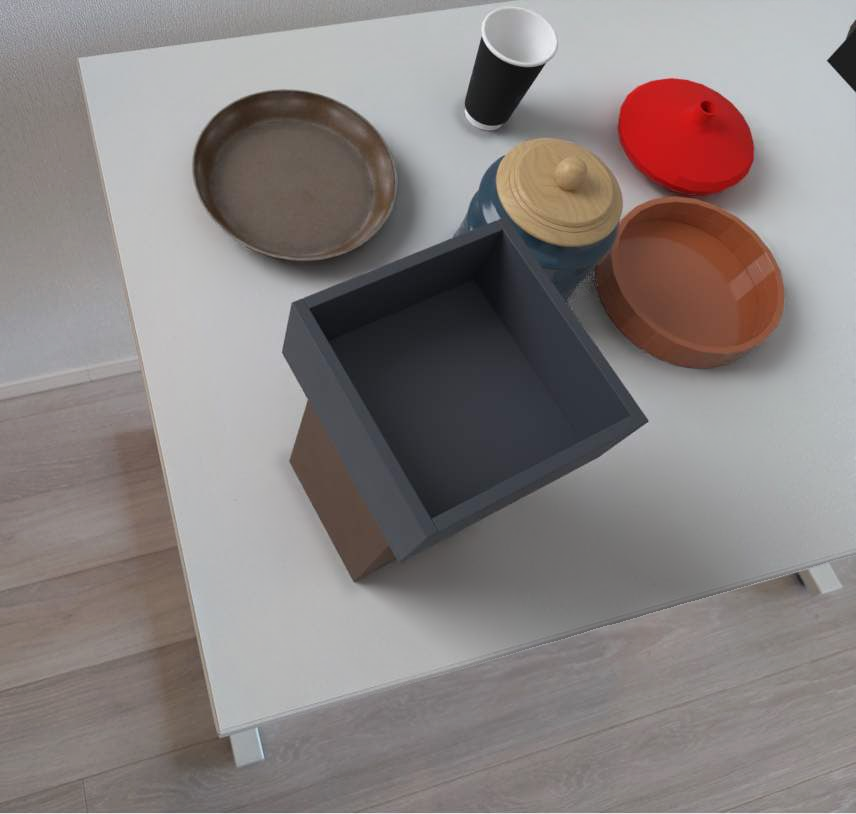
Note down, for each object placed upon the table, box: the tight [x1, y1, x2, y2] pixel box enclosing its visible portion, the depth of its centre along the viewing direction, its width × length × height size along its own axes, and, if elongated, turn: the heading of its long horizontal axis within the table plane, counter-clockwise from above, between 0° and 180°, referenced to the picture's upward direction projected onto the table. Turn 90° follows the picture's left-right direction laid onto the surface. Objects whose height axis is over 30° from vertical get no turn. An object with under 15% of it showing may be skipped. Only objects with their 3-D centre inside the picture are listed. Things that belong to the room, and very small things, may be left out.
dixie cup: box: [464, 5, 559, 131], centre depth 84 cm, size 8×8×11 cm
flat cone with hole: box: [617, 77, 755, 197], centre depth 88 cm, size 16×16×7 cm
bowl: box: [595, 195, 786, 369], centre depth 82 cm, size 18×18×4 cm
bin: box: [281, 217, 650, 583], centre depth 58 cm, size 16×16×27 cm
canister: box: [452, 137, 624, 303], centre depth 73 cm, size 13×13×18 cm
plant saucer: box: [191, 88, 399, 262], centre depth 80 cm, size 21×21×3 cm
